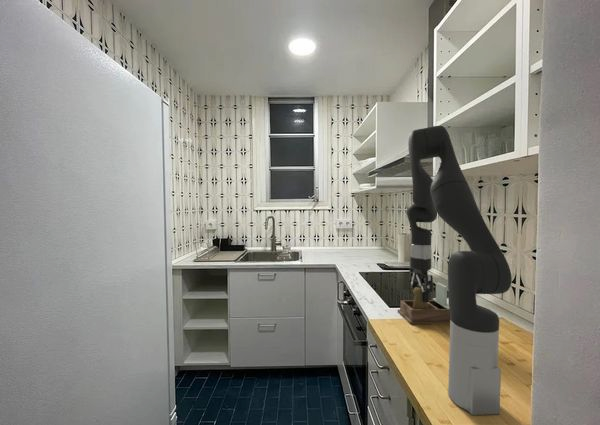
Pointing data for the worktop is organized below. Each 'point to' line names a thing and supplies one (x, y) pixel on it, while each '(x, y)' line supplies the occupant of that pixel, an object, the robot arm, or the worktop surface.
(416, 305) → the olive rounded piece
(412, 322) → the caddy
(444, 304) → the lid
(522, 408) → the worktop surface
